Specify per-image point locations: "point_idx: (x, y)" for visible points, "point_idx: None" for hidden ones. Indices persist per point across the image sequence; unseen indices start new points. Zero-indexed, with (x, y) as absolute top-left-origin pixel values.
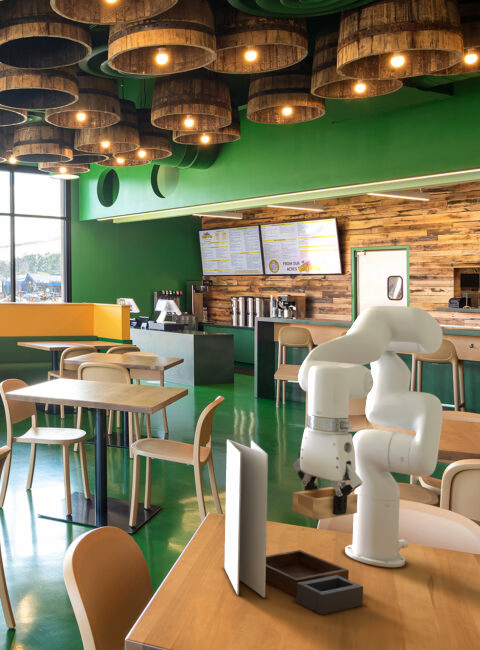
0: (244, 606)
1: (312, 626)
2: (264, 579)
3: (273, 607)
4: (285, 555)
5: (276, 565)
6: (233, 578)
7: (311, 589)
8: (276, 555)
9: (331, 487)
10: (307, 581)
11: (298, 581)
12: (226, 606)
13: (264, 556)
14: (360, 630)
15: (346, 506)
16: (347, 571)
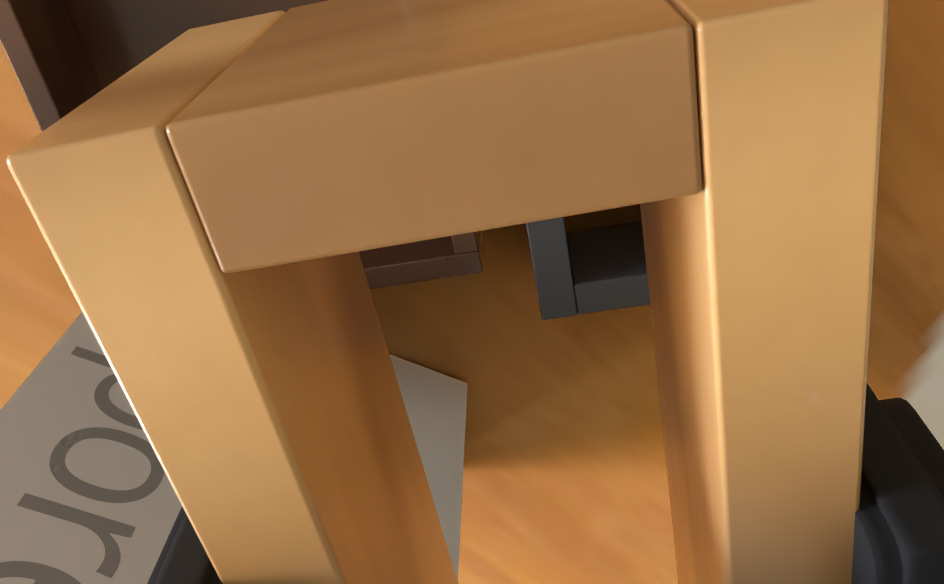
0: (524, 501)
1: None
2: (462, 447)
3: (562, 401)
4: (22, 14)
5: (90, 89)
6: None
7: (641, 303)
8: (59, 115)
9: (100, 238)
10: (538, 247)
11: (480, 252)
12: (509, 558)
13: (457, 550)
14: (897, 174)
15: (927, 438)
16: None
